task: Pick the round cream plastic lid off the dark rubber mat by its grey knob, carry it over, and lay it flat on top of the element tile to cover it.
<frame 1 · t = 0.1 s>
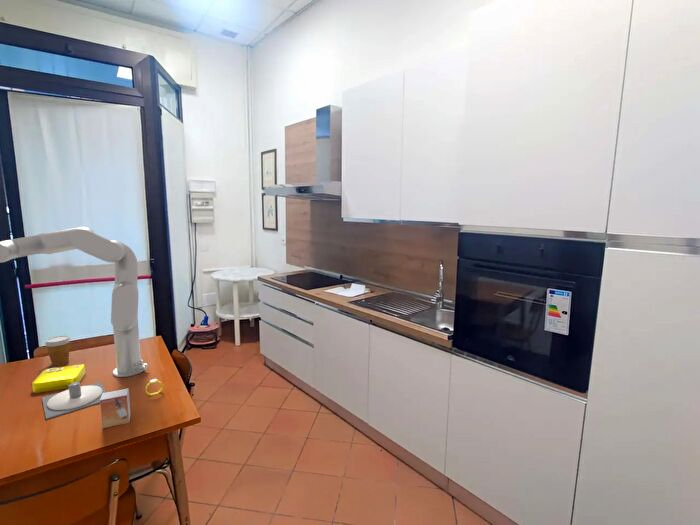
disposable coffee cup: (60, 363, 170), on the table
mat: (76, 399, 138), on the table
lid: (75, 391, 137), on the mat
small box: (116, 422, 124), on the table
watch: (154, 394, 142), on the table
element tile: (60, 383, 151), on the table
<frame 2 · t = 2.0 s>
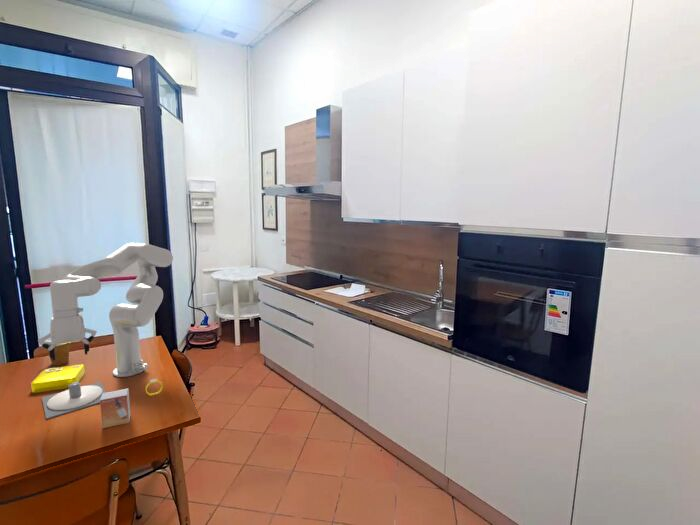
hand: (70, 356, 135), 18 cm above the table, tool pointing down, fingers open, 9 cm apart
nothing on the table moved.
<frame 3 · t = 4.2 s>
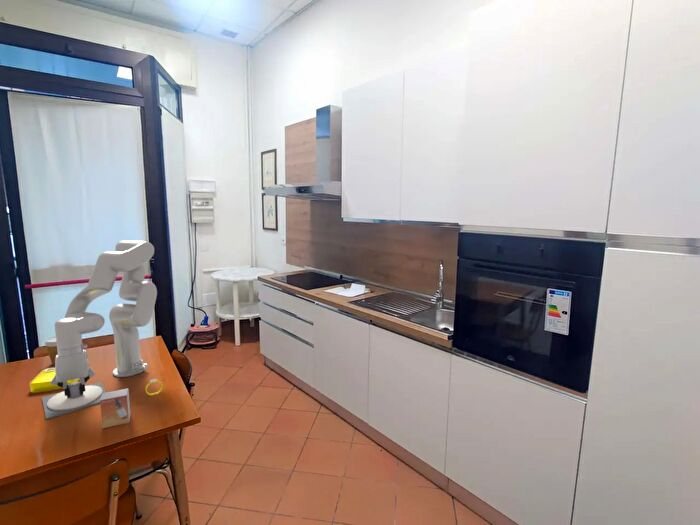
hand: (75, 394, 137), 2 cm above the table, tool pointing down, fingers closed on lid, 3 cm apart
lid: (75, 391, 137), on the mat, touching gripper
everything else where it was.
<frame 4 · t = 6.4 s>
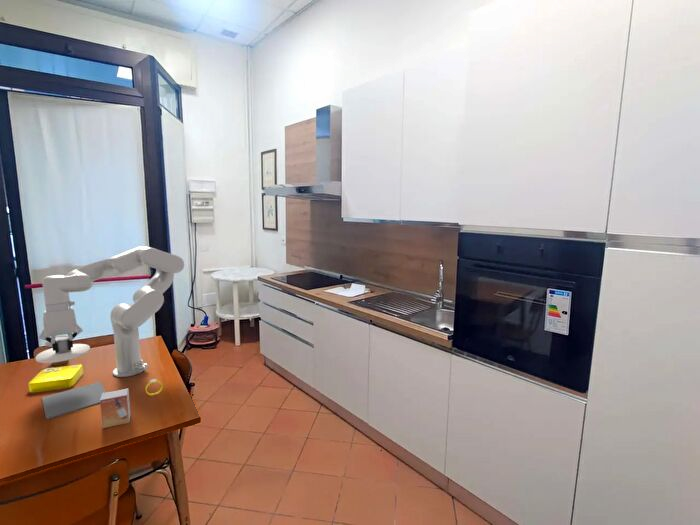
hand: (63, 350, 142), 17 cm above the table, tool pointing down, fingers closed on lid, 3 cm apart
lid: (63, 346, 142), point 19 cm above the table, touching gripper
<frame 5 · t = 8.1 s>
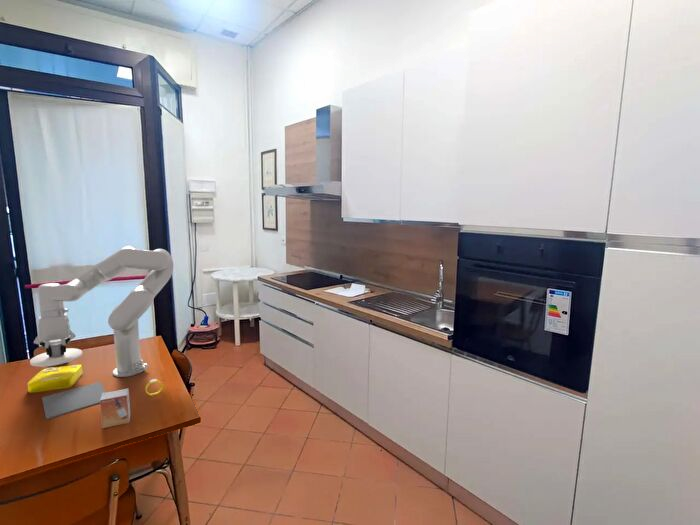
hand: (56, 354, 149), 12 cm above the table, tool pointing down, fingers closed on lid, 3 cm apart
lid: (56, 351, 149), point 14 cm above the table, touching gripper
when the fingers open (8 cm above the table, at t = 9.1 s): lid drops 2 cm, resting on element tile.
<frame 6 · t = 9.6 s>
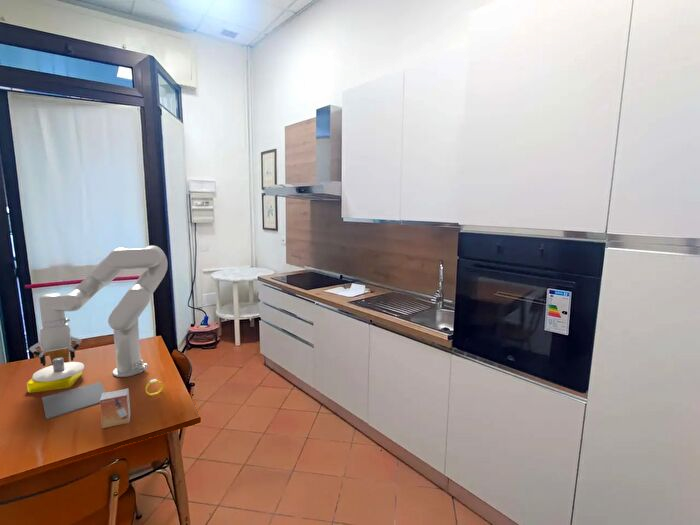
hand: (58, 362, 150), 9 cm above the table, tool pointing down, fingers open, 8 cm apart
lid: (58, 365, 150), point 7 cm above the table, touching element tile
element tile: (56, 383, 151), on the table, touching lid
everything else where it was.
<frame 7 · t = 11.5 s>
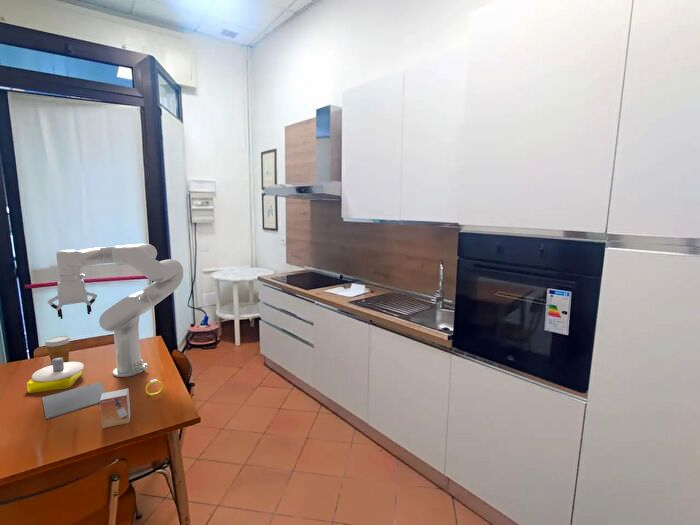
hand: (75, 315, 157), 26 cm above the table, tool pointing down, fingers open, 9 cm apart
nothing on the table moved.
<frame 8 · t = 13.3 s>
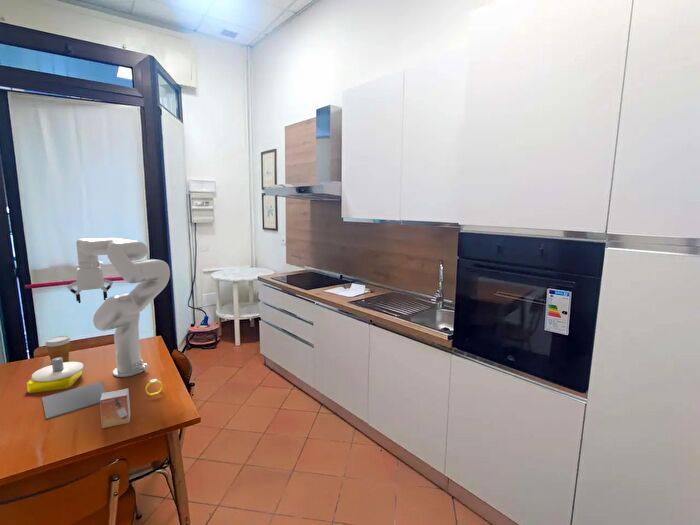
hand: (92, 301, 166), 30 cm above the table, tool pointing down, fingers open, 9 cm apart
nothing on the table moved.
at the end: lid 1.1 cm from the element tile (horizontally); lid point 7.2 cm above the table; lid tilted 0° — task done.
